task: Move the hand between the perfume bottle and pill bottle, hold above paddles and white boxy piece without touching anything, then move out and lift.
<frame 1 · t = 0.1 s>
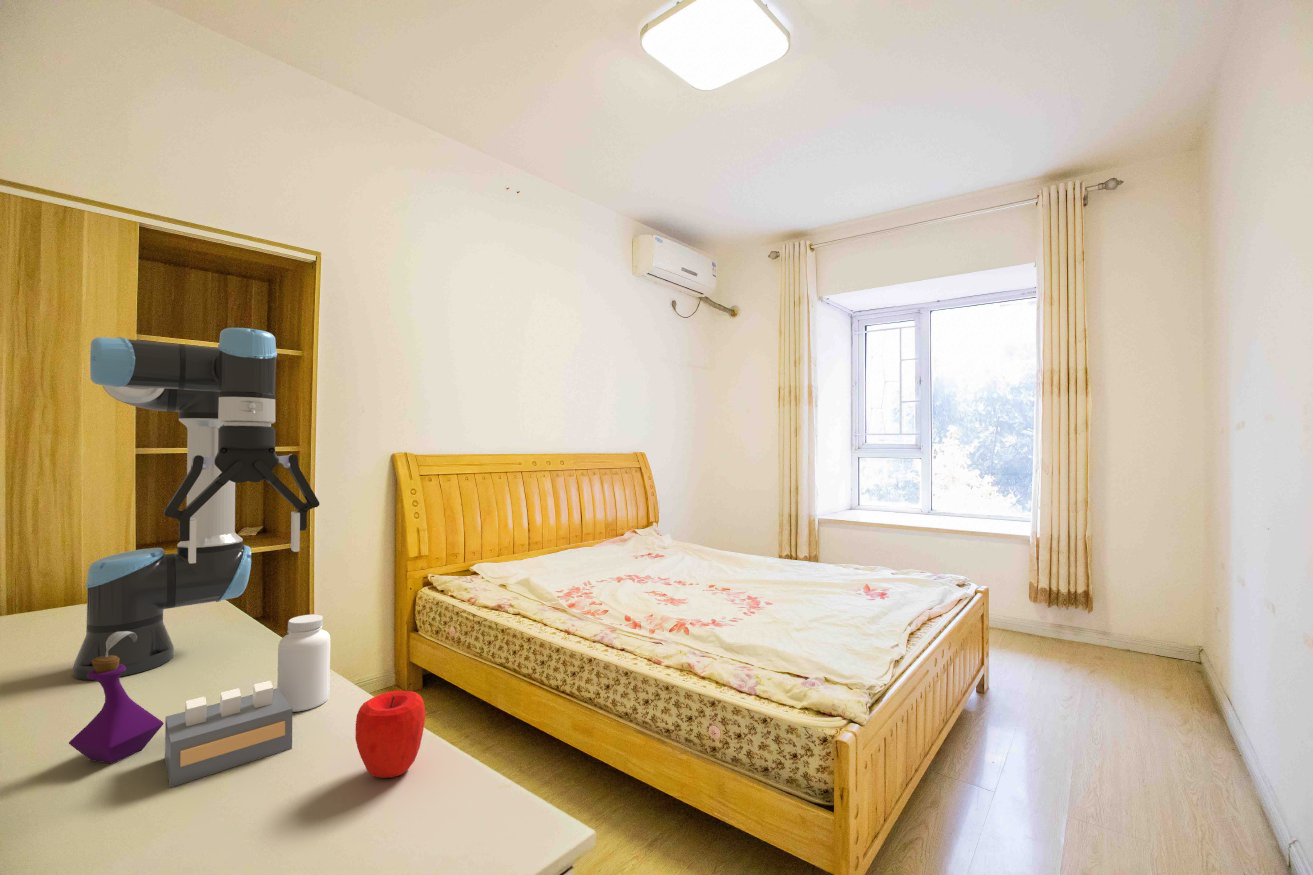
hand: (246, 556, 91), 28 cm above the table, tool pointing down, fingers open, 13 cm apart
perfume bottle: (117, 755, 84), on the table
paddle middle: (230, 702, 84), point 8 cm above the table, hinge at 15.0°
apple: (390, 774, 79), on the table
pill bottle: (304, 703, 100), on the table
paddle left: (195, 711, 81), point 8 cm above the table, hinge at 15.0°
breaker panel: (229, 752, 84), on the table
white boxy piece: (262, 693, 87), point 8 cm above the table, hinge at 15.0°
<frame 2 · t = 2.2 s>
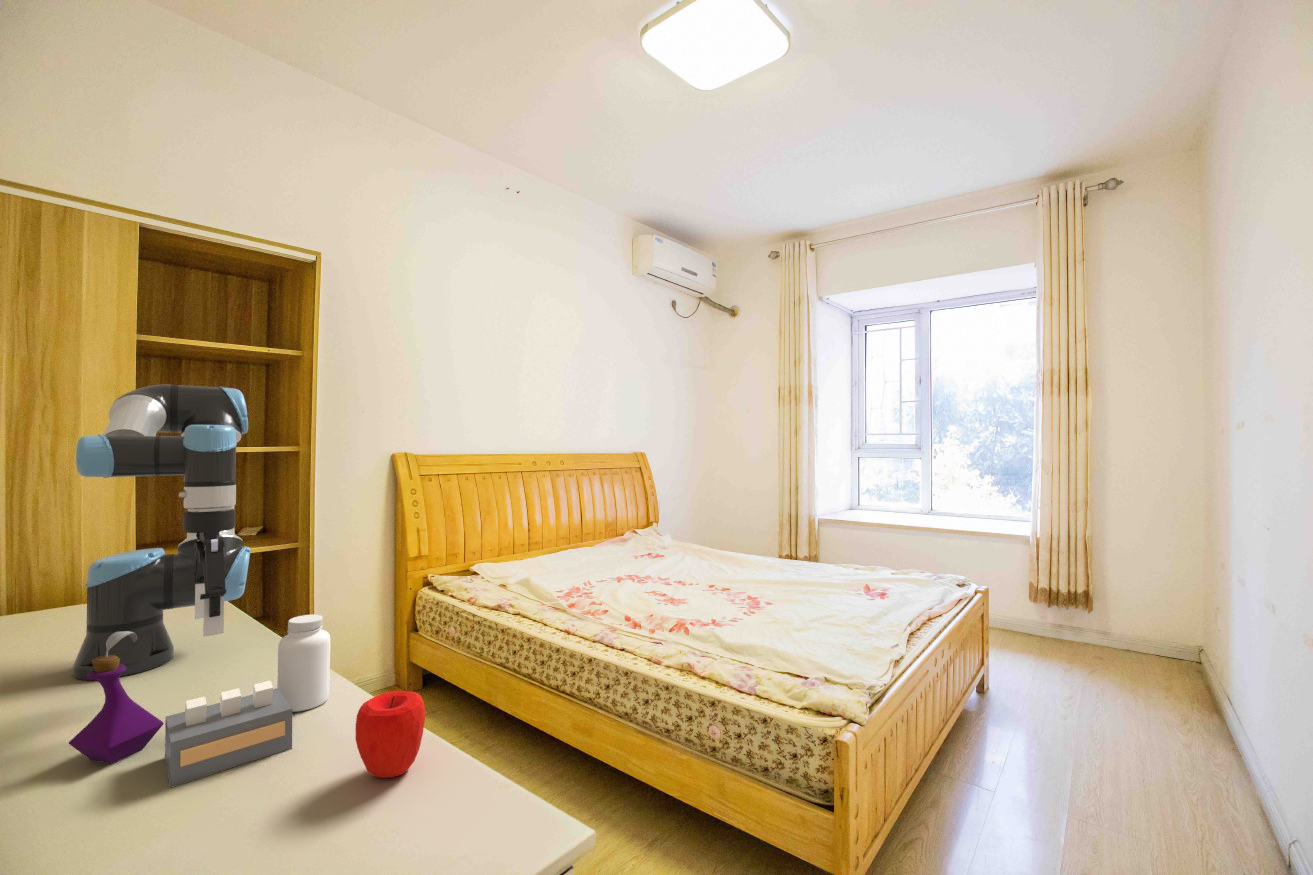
hand: (208, 625, 103), 13 cm above the table, tool pointing down, fingers open, 13 cm apart
nothing on the table moved.
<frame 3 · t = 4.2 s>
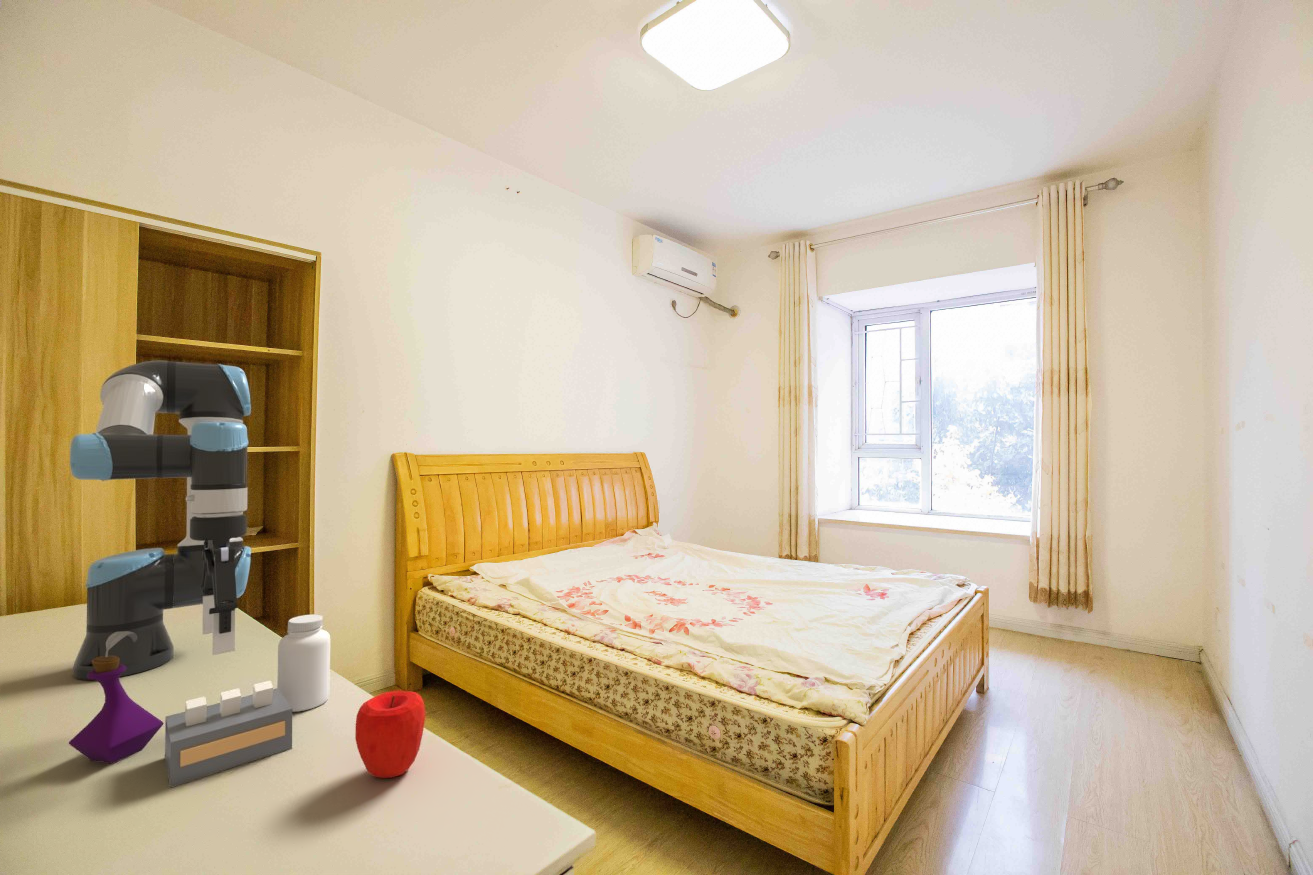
hand: (217, 642, 94), 13 cm above the table, tool pointing down, fingers open, 13 cm apart
nothing on the table moved.
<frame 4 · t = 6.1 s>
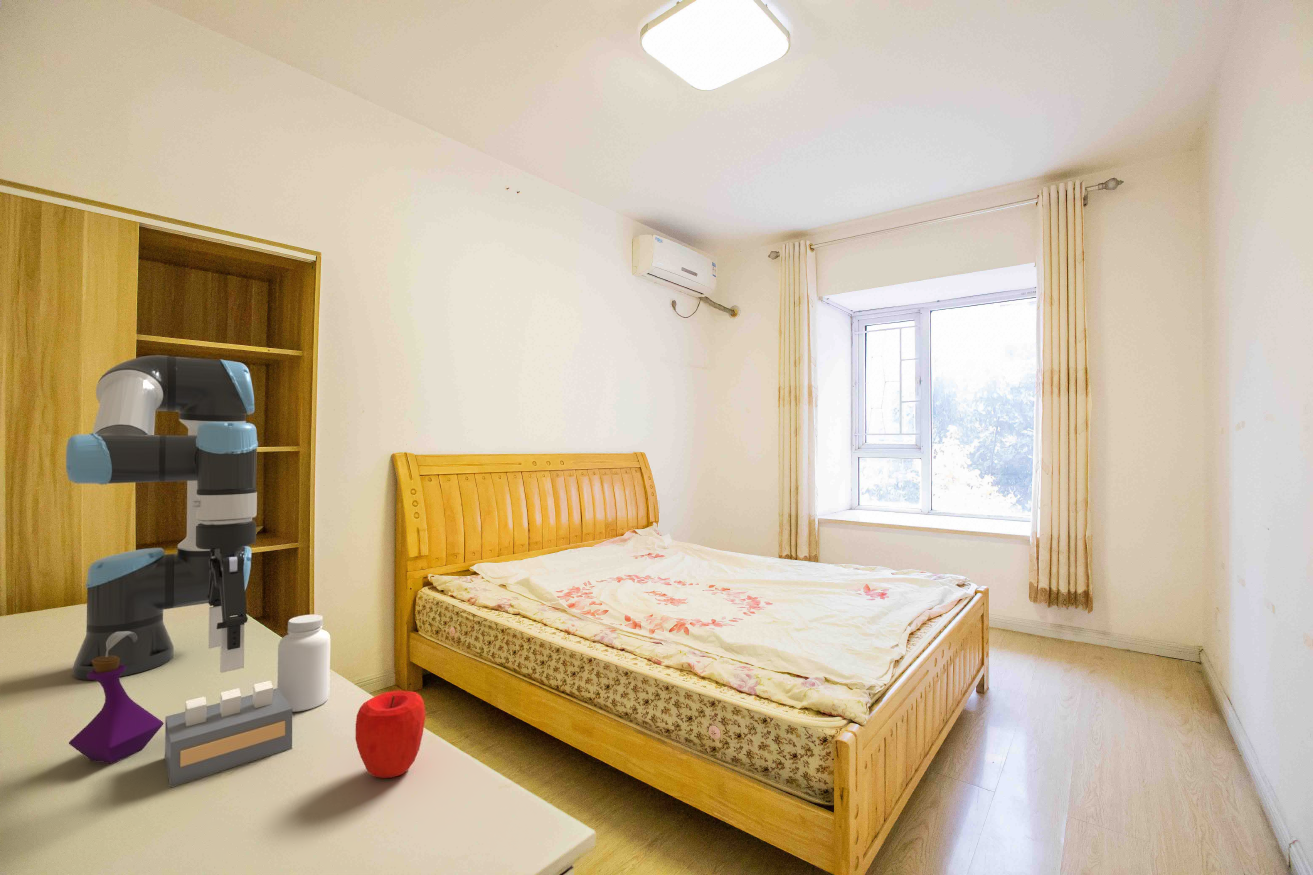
hand: (225, 657, 88), 13 cm above the table, tool pointing down, fingers open, 13 cm apart
nothing on the table moved.
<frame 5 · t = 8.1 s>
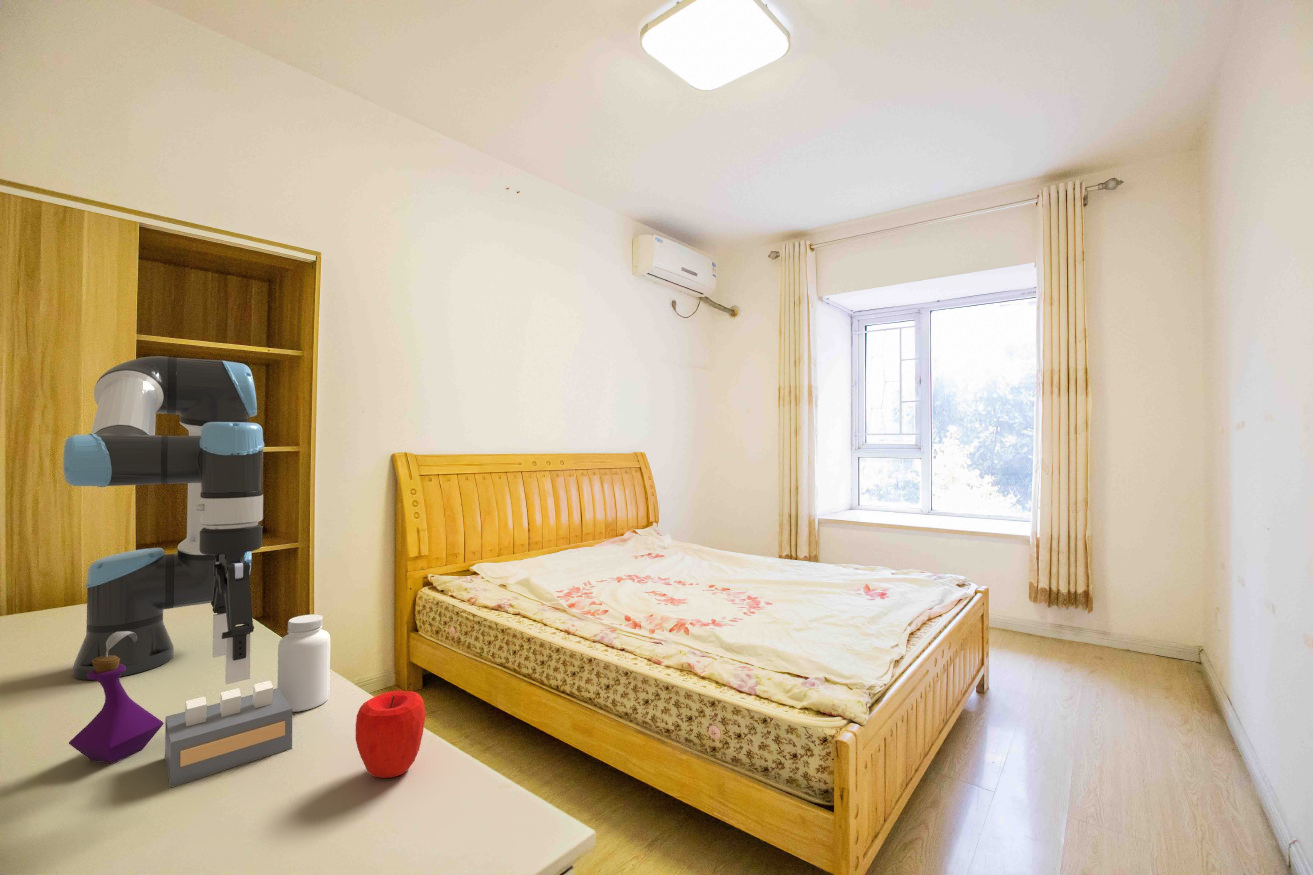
hand: (230, 667, 84), 13 cm above the table, tool pointing down, fingers open, 13 cm apart
nothing on the table moved.
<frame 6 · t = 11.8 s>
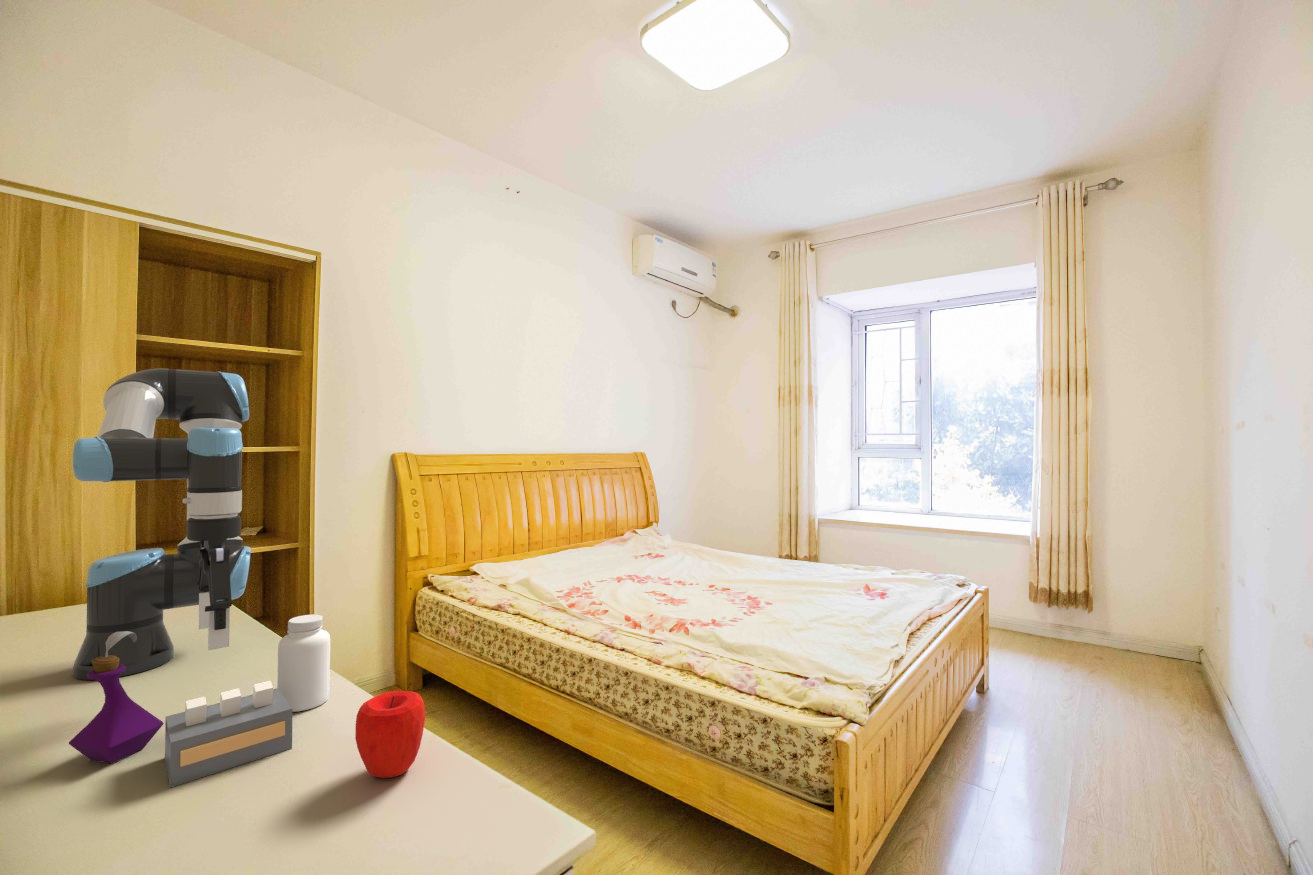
hand: (213, 637, 98), 12 cm above the table, tool pointing down, fingers open, 13 cm apart
nothing on the table moved.
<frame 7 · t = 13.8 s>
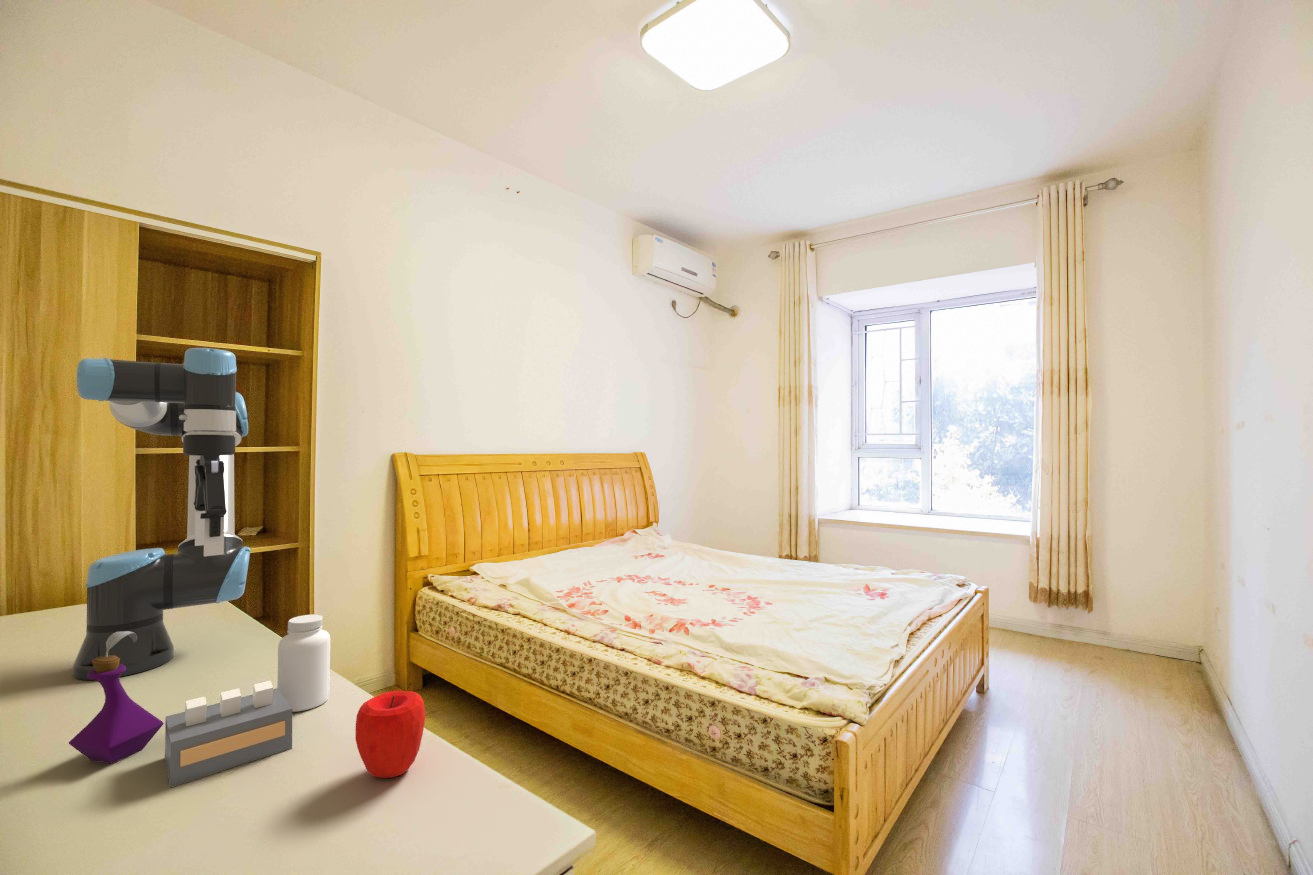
hand: (208, 549, 103), 27 cm above the table, tool pointing down, fingers open, 13 cm apart
nothing on the table moved.
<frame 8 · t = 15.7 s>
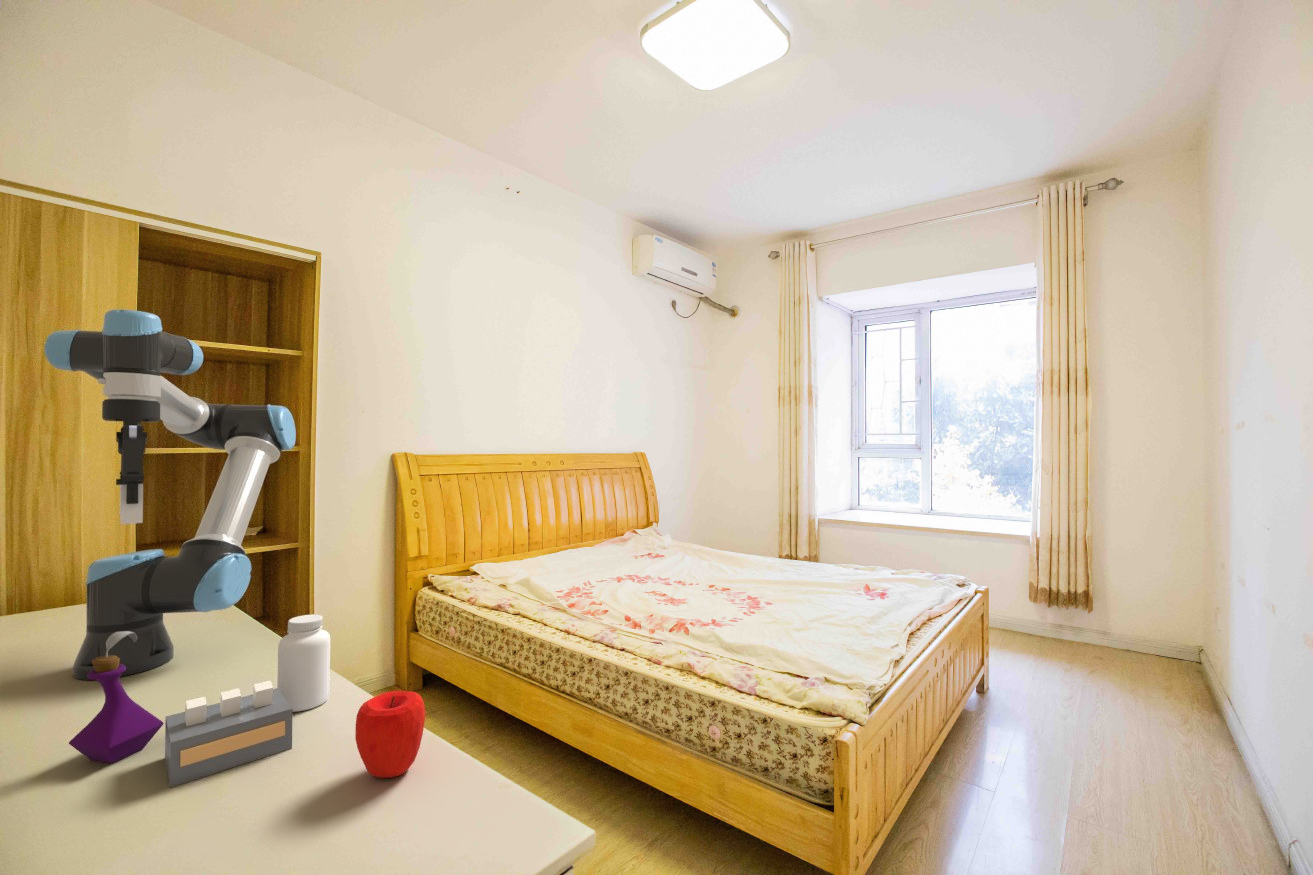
hand: (130, 519, 99), 33 cm above the table, tool pointing down, fingers open, 13 cm apart
nothing on the table moved.
at the end: paddle middle at +15° (first picture: +15°); perfume bottle moved 0.2 cm from its start; pill bottle moved 0.2 cm from its start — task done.
